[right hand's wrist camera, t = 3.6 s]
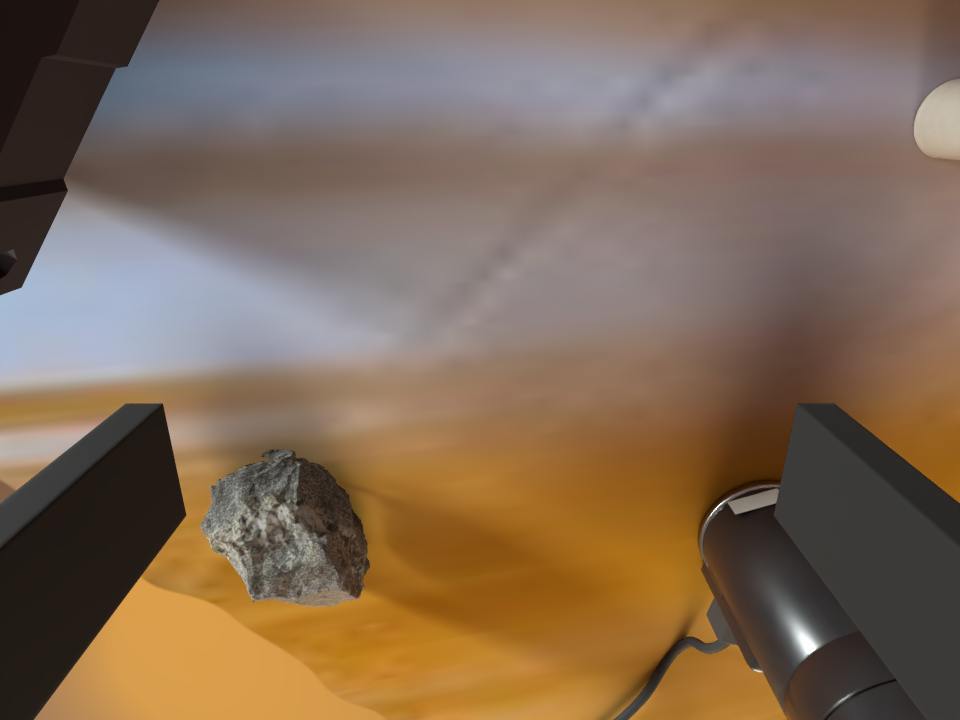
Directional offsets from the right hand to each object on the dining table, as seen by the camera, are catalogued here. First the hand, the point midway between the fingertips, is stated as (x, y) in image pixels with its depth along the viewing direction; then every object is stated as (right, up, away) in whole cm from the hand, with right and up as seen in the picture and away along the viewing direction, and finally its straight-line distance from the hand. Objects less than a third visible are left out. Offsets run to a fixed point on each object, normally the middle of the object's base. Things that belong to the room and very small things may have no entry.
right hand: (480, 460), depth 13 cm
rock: (-13, -9, +34) cm, 37 cm away
